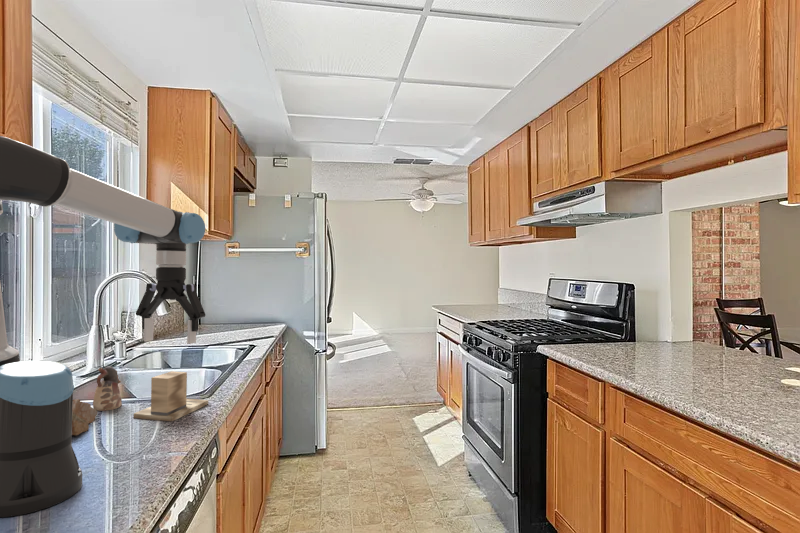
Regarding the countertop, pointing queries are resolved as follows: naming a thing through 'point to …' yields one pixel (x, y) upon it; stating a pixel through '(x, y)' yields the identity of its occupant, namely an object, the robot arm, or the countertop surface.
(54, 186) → the robot arm
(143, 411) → the board
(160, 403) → the block
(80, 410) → the stone
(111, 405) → the figurine
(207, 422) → the countertop surface
